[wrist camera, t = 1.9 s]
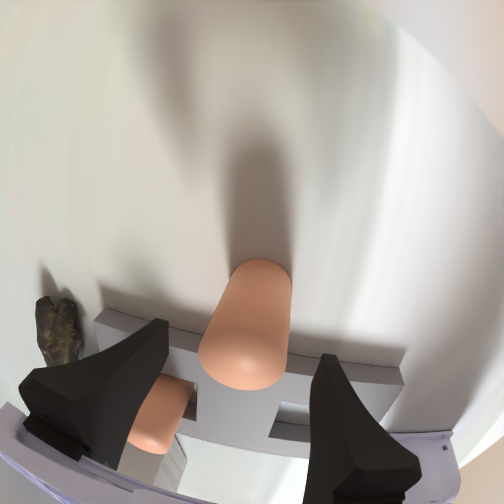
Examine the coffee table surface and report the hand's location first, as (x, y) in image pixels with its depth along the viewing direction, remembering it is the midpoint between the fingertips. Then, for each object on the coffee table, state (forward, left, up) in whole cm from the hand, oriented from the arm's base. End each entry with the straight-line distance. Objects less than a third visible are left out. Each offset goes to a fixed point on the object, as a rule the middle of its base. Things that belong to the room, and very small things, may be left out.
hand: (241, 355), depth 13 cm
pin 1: (+6, +11, -7) cm, 14 cm away
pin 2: (0, 0, -7) cm, 7 cm away
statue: (+18, +15, -7) cm, 24 cm away
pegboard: (0, +11, -7) cm, 13 cm away
